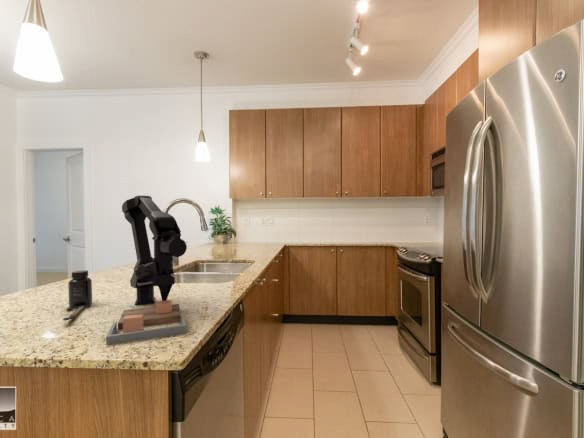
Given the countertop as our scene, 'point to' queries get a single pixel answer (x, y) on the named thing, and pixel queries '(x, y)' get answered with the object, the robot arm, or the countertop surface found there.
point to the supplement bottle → (80, 289)
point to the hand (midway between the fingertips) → (164, 301)
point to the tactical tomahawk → (76, 311)
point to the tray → (144, 333)
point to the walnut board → (153, 316)
